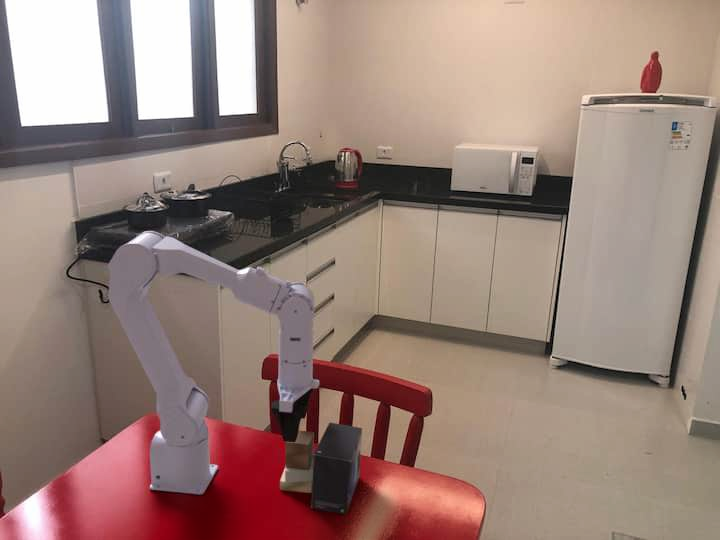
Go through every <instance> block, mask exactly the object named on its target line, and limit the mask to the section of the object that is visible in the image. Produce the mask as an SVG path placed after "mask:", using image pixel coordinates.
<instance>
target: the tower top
mask: <svg viewBox="0 0 720 540" xmlns="http://www.w3.org/2000/svg"><path fill="white" fill-rule="evenodd" d="M284 469H285V482H313V460H312V462H311V465H310V467H309V470H302V469H294V468H286V467H285V466H284Z"/></svg>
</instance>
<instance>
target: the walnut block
mask: <svg viewBox="0 0 720 540" xmlns="http://www.w3.org/2000/svg"><path fill="white" fill-rule="evenodd" d="M314 444H315V432H313V431H306V430H299V431H298V436H297V439H296V442H285V466H286V468H294V469H302V470H309V467H310V465H311V462H312V460H313V455H314V452H315V449H314V448H315V445H314Z"/></svg>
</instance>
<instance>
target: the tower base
mask: <svg viewBox="0 0 720 540" xmlns="http://www.w3.org/2000/svg"><path fill="white" fill-rule="evenodd" d="M285 467H286V465H284V469H283V472H282V475H281V477H280V481H279V490H280V491H289V492H298V493H309V494H312V485H313V482H285Z"/></svg>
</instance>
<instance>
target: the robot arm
mask: <svg viewBox="0 0 720 540" xmlns="http://www.w3.org/2000/svg"><path fill="white" fill-rule="evenodd" d="M107 268H108V270H109V281H108V283H109V285H108V296H107V297H108V301H109V303H110V306H111V307H112V309H113V312H114V313H115V316H116V317H117V320H118V321H119V324H120V325H121V327H122V329H123V332H124V333H125V334H126V338H128V341H129V343H130V345H131V347H132V348H133V350H134V353H135V354H136V357H137V358H138V361H139V363H140V364H141V366H142V368H143V370H144V372H145V374H146V375H147V378H148V380H149V382H150V383H151V386H152V387H153V389H154V392H155V394H156V414H157V416H158V418H159V422H160V426H159V427H160V428H159V429H160V430H158V431H157V432H156V433H155V434H154V436H153V438H152V440H151V443H150V447H149V448H150V449H149V462H150V463H149V465H150V467H149V468H150V479H151V481H150V482H151V483H150V485H149V490H152V491H163V492H171V493H182V494H190V495H191V494H193V495H203V494H204V493H205V491H206V490H207V488H208V486H209V484H210V483H211V482H212V480H213V478H214V476H215V474H216V473H217V471H218V469H219V465H217V464H211V463H210V462H211V461H210V435H209V433H210V432H209V427H208V425H207V423H206V421H205V418H206V416H207V413H208V412H209V410H210V407H211V406H210V405H211V404H210V398H209V396H208V395H207V394H206V392H205V391H204V390H202V389H201V388H199V387H198V385H197V384H196V382H195V380H194V378H191V377H189V376H187V375H186V373H185V372H184V370H183V368H182V366H181V363H180V361H179V359H178V357H177V356H176V353H175V351H174V350H173V349H174V348H173V347H172V345H171V343H170V342H169V339H168V337H167V334H166V333H165V331H164V329H163V326H162V325H161V322H160V320H159V319H158V317H157V314H156V313H155V311H154V309H153V306H152V305H151V302H150V300H149V299H148V296H147V294H148V291H149V289H150V286H151V285H152V283H153V281H154V278H155V277H156V275H157V274H158V273H159V274H158V278H159V279H161V278H166V277H169V276H173V275H177V274H181V273H183V274H186V275H189V276H192V277H194V278H197V279H200V280H203V281H205V282H208V283H211V284H215V285H217V286H219V287H223V288H225V289H228V290H230V291H231V293H232V294H233V296H234V299H235V300H236V301H239V302H241V303H244V304H246V305H248V306H251V307H254V308H256V309H258V310H260V311H263V312H265V313H269V315H274V316H277V319H278V320H279V323H280V325H279V326H280V327H279V328H280V329H279V331H278V378H277V380H276V382H277V383H276V385H277V390H278V395H279V400H273V402H272V403H271V405H270V407H271V408H270V410H271V413H272V414H273V415H274V418H275V419H276V421H277V423H278V427H279V429H280V433H281V437H282V441H283V442H284V443H286V442H296V439H297V436H298V431H300V424H301V420H303V419H305V418H306V416H307V413H308V408H309V403H310V399H311V396H312V393H313V391H314V389H318V388H319V386H320V380H319V379H318V378H317V377H315V376H313V373H314V372H313V370H314V369H313V368H314V367H313V365H314V361H313V359H314V330H313V328H314V317H315V313H316V312H315V310H314V309H315V308H314V307H315V296H314V293H313V291H312V290H311V288H309V286H307V285H306V284H304V283H303V282H299V281H298V282H297V281H296V282H295V281H294V282H293V281H292V280H289V279H286V281H285V280H283V279H280V278H278V277H275V276H273V275H270V274H268V273H266V272H265V271H266V269H265V268H264V267H261V266H257V267H256V268H253V267H251V266H249V267H246V268H243V269H237V268H236V267H233V266H231V265H230V264H229V265H228V264H226V263H224V262H222V261H220V260H218V259H216V258H215V257H211V256H209V255H208V254H206V253H204V252H201V251H199V250H197V249H195V248H193V247H190V246H189V245H187V244H184V243H183V242H182V241H180V240H178V239H176V238H174V237H172V236H164V235H163V234H162V233H160V232H157V231H154V230H147V231H142V232H141V233H139V234H138V235H136V236H135V237H134V238H132V239H131V240H130V241H128V242H127V243H125V244H123V245H120V246H119V248H117V250H116V251H115V253H114V255H112V258H111V259H110V261H109V263H108V265H107Z"/></svg>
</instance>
